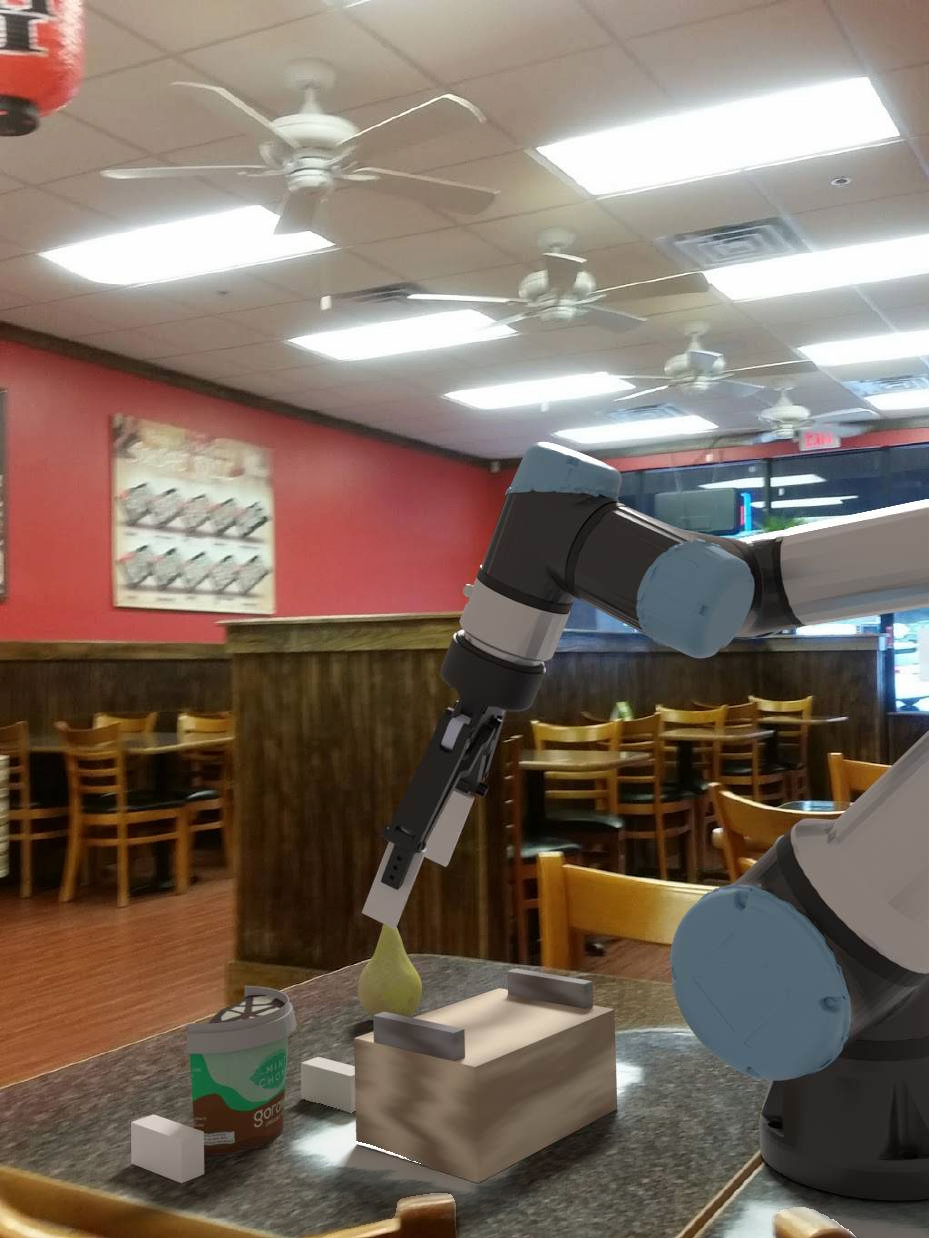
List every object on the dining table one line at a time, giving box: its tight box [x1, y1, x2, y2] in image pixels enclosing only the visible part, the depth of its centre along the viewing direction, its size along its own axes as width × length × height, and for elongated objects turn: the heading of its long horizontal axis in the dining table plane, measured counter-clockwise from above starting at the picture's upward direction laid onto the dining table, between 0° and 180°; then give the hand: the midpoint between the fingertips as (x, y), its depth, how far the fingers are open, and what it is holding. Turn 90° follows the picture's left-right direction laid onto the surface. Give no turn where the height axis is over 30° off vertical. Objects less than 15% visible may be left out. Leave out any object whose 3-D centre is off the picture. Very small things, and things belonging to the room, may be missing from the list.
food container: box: [185, 985, 298, 1156], centre depth 95 cm, size 12×6×10 cm, turn 168°
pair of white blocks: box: [130, 1056, 356, 1184], centre depth 95 cm, size 6×19×3 cm, turn 140°
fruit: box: [357, 923, 423, 1018], centre depth 126 cm, size 7×8×12 cm
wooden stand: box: [353, 968, 618, 1184], centre depth 96 cm, size 12×18×10 cm, turn 140°
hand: (407, 887), depth 96 cm, fingers open, 13 cm apart
